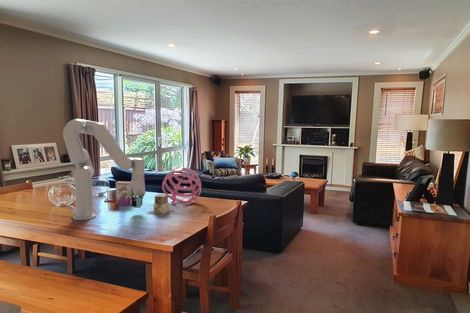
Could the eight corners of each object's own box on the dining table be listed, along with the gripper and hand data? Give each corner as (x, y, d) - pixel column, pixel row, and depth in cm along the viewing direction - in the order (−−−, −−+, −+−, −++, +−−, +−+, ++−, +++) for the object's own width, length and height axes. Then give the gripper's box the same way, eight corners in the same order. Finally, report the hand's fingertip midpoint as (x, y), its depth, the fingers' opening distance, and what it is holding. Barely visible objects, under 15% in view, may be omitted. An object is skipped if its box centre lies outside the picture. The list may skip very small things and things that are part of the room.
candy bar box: (115, 205, 228) (115, 182, 227) (118, 203, 233) (118, 181, 232) (130, 205, 227) (130, 182, 226) (133, 204, 232) (133, 181, 231)
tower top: (154, 203, 209) (154, 196, 208) (160, 201, 214) (160, 194, 214) (162, 204, 206) (162, 196, 206) (167, 202, 212) (167, 195, 211)
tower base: (153, 212, 209) (153, 203, 208) (160, 210, 215) (160, 201, 215) (162, 214, 206) (162, 204, 206) (168, 211, 213) (168, 202, 212)
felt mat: (145, 213, 207) (145, 213, 207) (158, 208, 220) (158, 208, 220) (163, 216, 202) (163, 216, 202) (176, 211, 215) (176, 210, 215)
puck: (130, 206, 203) (131, 197, 203) (136, 205, 208) (136, 196, 208) (137, 208, 201) (137, 198, 201) (142, 206, 206) (143, 197, 206)
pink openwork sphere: (189, 182, 212) (195, 156, 233) (151, 190, 218) (160, 164, 239) (204, 210, 229) (208, 183, 250) (168, 216, 235) (175, 190, 256)
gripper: (142, 175, 213) (140, 202, 214) (123, 178, 197) (122, 207, 198) (151, 176, 210) (150, 204, 211) (133, 179, 194) (132, 209, 195)
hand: (136, 205), depth 205 cm, fingers closed on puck, 5 cm apart
